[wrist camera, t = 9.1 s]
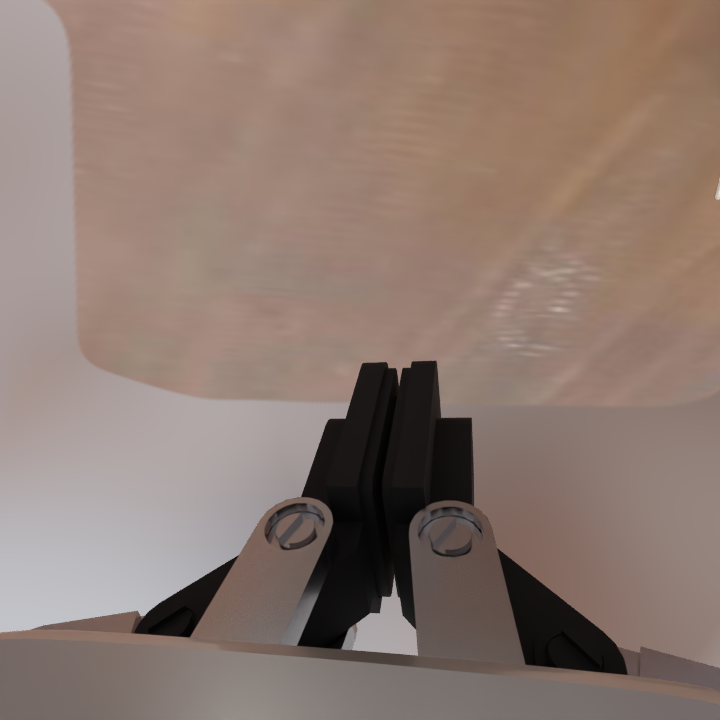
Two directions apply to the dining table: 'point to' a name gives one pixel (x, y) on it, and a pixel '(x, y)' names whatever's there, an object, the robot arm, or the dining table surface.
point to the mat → (718, 191)
